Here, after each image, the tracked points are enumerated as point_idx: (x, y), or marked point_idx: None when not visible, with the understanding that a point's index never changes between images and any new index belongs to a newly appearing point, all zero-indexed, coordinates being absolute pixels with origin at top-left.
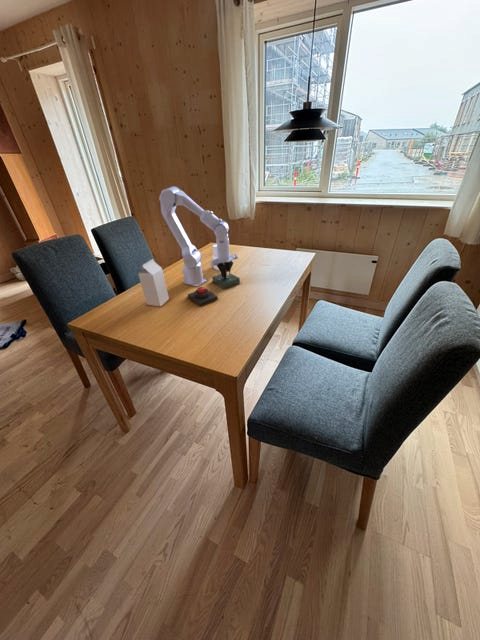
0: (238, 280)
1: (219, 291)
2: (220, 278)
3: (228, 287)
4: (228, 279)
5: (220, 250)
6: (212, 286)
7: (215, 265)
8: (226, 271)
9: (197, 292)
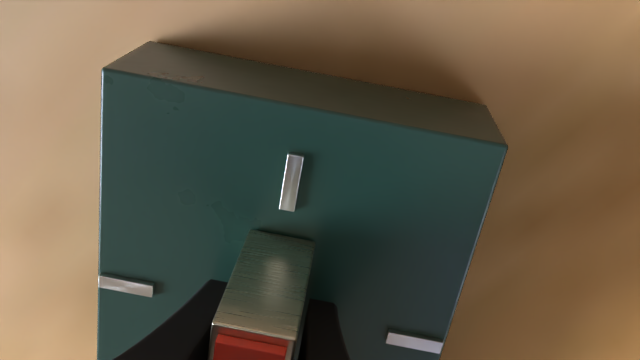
0: (152, 62)
1: (611, 123)
2: (372, 349)
3: (409, 92)
4: (309, 207)
5: None
6: (516, 329)
7: None
8: (284, 355)
9: None
